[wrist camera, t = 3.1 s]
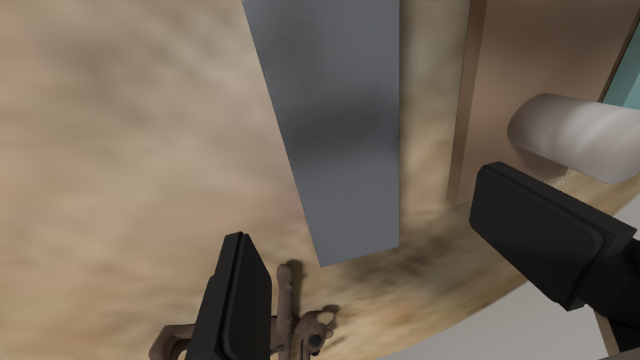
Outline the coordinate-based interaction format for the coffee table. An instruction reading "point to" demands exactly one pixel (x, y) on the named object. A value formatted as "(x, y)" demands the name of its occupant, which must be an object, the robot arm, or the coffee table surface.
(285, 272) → the bear figurine
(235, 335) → the robot arm
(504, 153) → the peg stand
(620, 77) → the slot holder
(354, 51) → the steel bar
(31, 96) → the coffee table surface
